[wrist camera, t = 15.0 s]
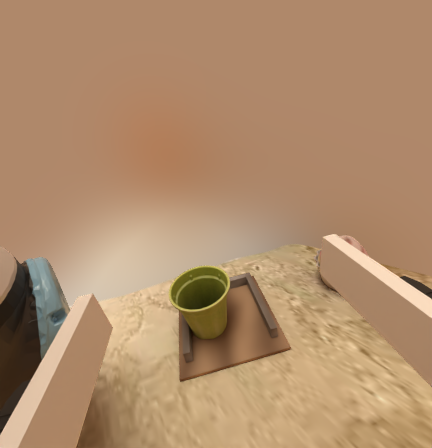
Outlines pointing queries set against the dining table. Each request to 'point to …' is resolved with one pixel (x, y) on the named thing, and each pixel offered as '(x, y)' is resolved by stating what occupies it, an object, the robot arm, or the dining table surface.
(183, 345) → the keeper bracket
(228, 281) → the plant pot
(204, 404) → the dining table surface
